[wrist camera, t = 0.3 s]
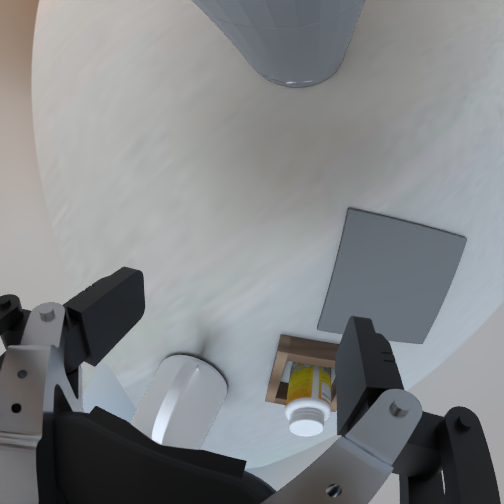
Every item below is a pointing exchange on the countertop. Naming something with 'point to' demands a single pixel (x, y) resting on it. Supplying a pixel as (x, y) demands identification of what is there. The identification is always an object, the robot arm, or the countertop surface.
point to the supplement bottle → (308, 399)
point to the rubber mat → (390, 276)
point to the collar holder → (300, 353)
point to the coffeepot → (181, 402)
